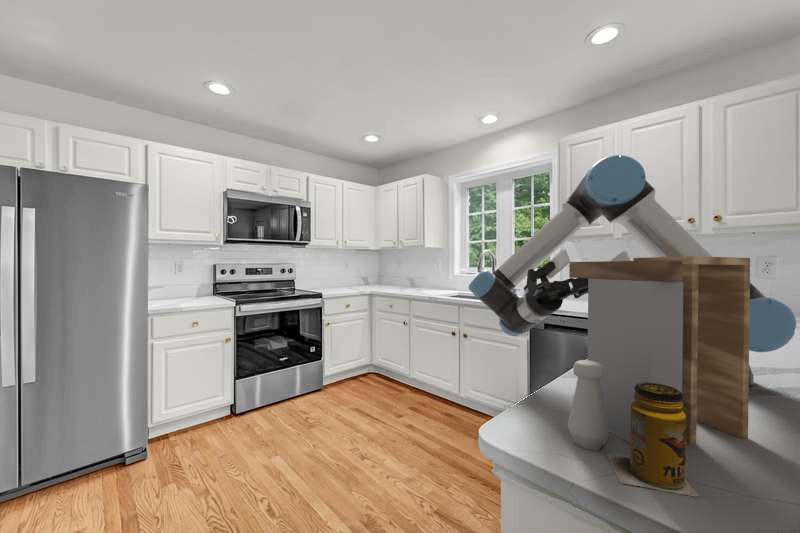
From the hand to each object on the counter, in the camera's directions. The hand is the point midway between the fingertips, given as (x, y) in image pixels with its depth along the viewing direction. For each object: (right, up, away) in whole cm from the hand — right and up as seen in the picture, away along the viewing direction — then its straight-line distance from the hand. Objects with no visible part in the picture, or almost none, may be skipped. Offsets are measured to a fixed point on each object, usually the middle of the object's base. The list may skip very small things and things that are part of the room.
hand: (597, 256), depth 68 cm
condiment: (-4, -30, -20) cm, 37 cm away
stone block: (+1, -30, -8) cm, 31 cm away
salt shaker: (-8, -30, -12) cm, 33 cm away
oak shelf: (+13, -30, -5) cm, 33 cm away
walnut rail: (+1, -4, -5) cm, 6 cm away
